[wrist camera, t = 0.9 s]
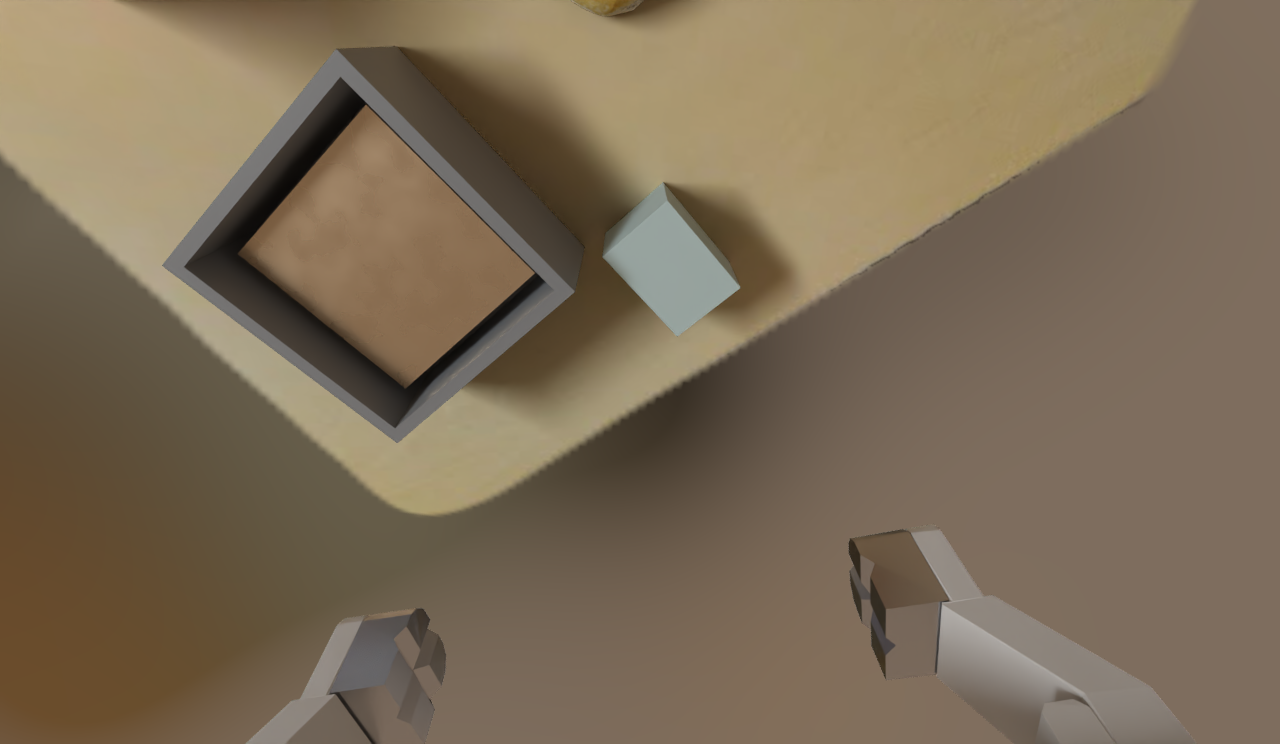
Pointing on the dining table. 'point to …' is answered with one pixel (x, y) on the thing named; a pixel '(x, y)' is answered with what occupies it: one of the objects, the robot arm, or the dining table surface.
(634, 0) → the bread roll
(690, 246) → the pale green block
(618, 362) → the dining table surface
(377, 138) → the brown layer
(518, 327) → the tote
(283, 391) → the dining table surface
